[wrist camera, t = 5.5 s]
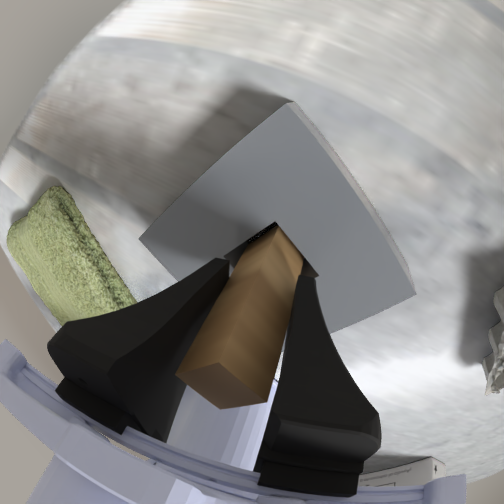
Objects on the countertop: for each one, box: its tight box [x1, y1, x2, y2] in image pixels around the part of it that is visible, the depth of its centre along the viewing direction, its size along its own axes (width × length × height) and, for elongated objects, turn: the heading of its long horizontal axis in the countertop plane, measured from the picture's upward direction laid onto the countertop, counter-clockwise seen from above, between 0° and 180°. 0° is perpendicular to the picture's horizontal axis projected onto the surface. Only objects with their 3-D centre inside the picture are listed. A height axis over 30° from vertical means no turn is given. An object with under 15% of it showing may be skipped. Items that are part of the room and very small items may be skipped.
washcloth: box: [7, 186, 137, 326], centre depth 22 cm, size 13×18×3 cm
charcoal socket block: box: [139, 102, 416, 352], centre depth 14 cm, size 10×10×2 cm
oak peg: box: [175, 225, 304, 410], centre depth 11 cm, size 2×2×8 cm
